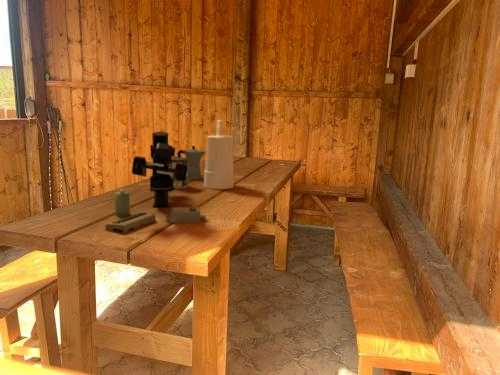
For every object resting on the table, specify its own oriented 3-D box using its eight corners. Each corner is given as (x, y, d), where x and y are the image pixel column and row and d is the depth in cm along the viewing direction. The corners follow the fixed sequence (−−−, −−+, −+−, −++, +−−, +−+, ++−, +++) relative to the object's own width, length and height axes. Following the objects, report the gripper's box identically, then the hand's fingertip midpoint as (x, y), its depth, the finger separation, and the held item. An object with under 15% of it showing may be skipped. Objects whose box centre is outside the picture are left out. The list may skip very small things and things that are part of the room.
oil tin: (116, 212, 144) (116, 188, 143) (130, 212, 145) (130, 188, 143) (114, 216, 140) (113, 191, 138) (128, 216, 140) (128, 191, 138)
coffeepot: (204, 176, 223) (204, 145, 219) (205, 179, 214) (206, 147, 210) (176, 176, 220) (176, 144, 216) (177, 179, 211) (177, 146, 207)
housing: (165, 223, 134) (165, 210, 133) (166, 218, 140) (166, 205, 139) (205, 222, 136) (206, 210, 135) (205, 217, 142) (205, 205, 141)
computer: (137, 218, 139) (137, 209, 139) (156, 222, 136) (155, 213, 135) (105, 230, 125) (104, 220, 125) (124, 234, 122) (123, 224, 121)
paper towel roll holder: (237, 188, 194) (239, 121, 187) (208, 189, 189) (209, 120, 182) (227, 182, 208) (229, 119, 201) (200, 183, 202) (201, 118, 196)
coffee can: (182, 183, 200) (182, 156, 198) (191, 187, 192) (191, 159, 189) (163, 185, 195) (163, 157, 192) (171, 189, 186) (171, 160, 184)
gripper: (137, 137, 138) (133, 149, 124) (189, 145, 143) (191, 158, 129) (133, 166, 142) (129, 181, 128) (184, 173, 147) (185, 189, 133)
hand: (159, 177), depth 129 cm, fingers open, 9 cm apart
